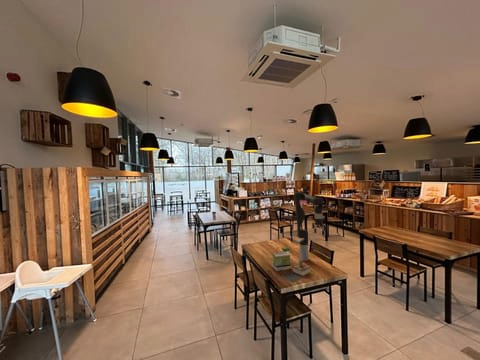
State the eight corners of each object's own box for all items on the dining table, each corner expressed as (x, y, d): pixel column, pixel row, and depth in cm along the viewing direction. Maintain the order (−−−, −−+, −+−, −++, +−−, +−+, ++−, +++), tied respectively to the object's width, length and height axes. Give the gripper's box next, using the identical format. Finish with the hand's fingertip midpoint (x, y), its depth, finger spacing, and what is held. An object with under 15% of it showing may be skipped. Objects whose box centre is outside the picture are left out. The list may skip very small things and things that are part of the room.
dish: (293, 272, 195) (293, 267, 195) (300, 268, 201) (300, 263, 201) (303, 276, 186) (302, 271, 186) (310, 272, 193) (309, 267, 193)
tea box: (276, 271, 198) (275, 256, 198) (273, 267, 208) (272, 253, 208) (290, 269, 201) (290, 254, 201) (286, 265, 211) (285, 251, 211)
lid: (292, 267, 195) (291, 260, 195) (300, 263, 202) (299, 256, 202) (302, 271, 185) (302, 264, 185) (310, 267, 192) (310, 260, 192)
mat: (279, 277, 186) (279, 276, 186) (290, 272, 195) (290, 271, 195) (292, 283, 174) (292, 283, 174) (303, 277, 183) (303, 277, 183)
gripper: (310, 217, 205) (310, 233, 205) (323, 219, 193) (324, 236, 193) (314, 216, 209) (315, 231, 209) (327, 218, 198) (328, 234, 198)
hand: (319, 233), depth 201 cm, fingers open, 8 cm apart
